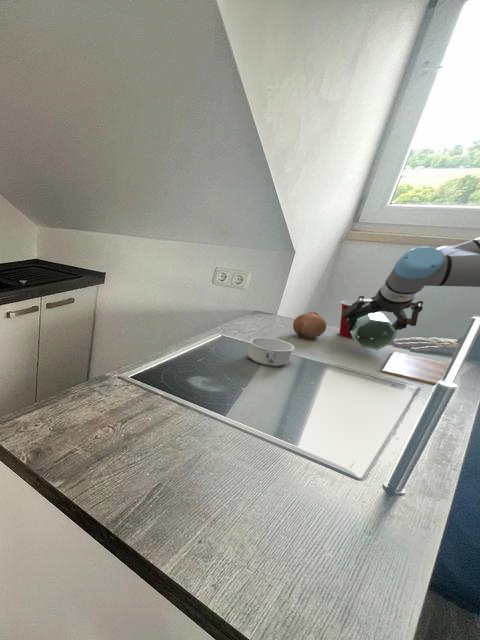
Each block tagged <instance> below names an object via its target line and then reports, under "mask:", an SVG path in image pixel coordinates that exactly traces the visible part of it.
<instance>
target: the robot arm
mask: <svg viewBox="0 0 480 640" xmlns="http://www.w3.org/2000/svg"><path fill="white" fill-rule="evenodd" d="M425 287H467V288H480V237H478V238H475V239H471V240H469V241H465V242H462V243H459V244H456V245H455V244H454V245H443V246H440V247H437V248H434V247H431V246H427V245H426V246H425V245H423V246H417V247H414V248H411V249H409V250H407V251H406V252H404V254H403V255H401V257H400V258H399V259H398V260H397V261H396V263H395V264H394V267H393V268H392V269H391V271H390V273H389V275H388V276H387V277H386V279H385V281H384V282H383V283H382V285H381V286H380V288H379V289H378V290H377V292H376V294H375V295H374V296H372V297H371V298H365V296H363V295H359V296H358V298H357V300H355V301H356V302H355V303H353V304H352V305H351V306H349V307H348V308H347V309H345V310H344V313H343V318H348V319H347V324H349V325H348V330H347V331H351V329H352V328H353V326H354V325H355V323H356V322H357V319H358V318H360V317H363V316H365V315H367V314H370V313H376V312H378V313H379V312H386V313H392V314H393V315H394V316H395V317H396V320H395V321H394V322H393V323H392V324H393V326H394V327H395V329H396V330H397V331H401V330H403V329H407V326H410V327H416V326H417V323H418V318H419V314H420V313H421V311H423V309H424V301H423V300H419V301H417V302H413V301H414V300H415V298H416V297H417V296H418V294H419V293H420V292H421V291H422V290H424V289H423V288H425ZM367 303H370V304H369V305H366V304H367ZM365 305H366V306H365ZM362 306H364V307H362ZM409 308H410V310H411V317H410V318H409V317H408V316H407V314H406V312H405V310H406V309H409Z"/></svg>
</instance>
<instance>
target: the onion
mask: <svg viewBox="0 0 480 640" xmlns="http://www.w3.org/2000/svg"><path fill="white" fill-rule="evenodd" d="M292 330H293V331H294V333H295V334H296V335H297V336H298V337H300V338H302V339H305V340H306V339H317V338H318V337H321V336H322V334H324V333H325V332H326V330H327V322H326V320H325V318H323V317H322V316H320V315H319V314H318V313H317V312H315V311H309V312H307V313H303V314H300V315H298V316H296V318H294V320H293V323H292Z"/></svg>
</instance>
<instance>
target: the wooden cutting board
mask: <svg viewBox="0 0 480 640" xmlns="http://www.w3.org/2000/svg"><path fill="white" fill-rule="evenodd" d="M449 365H450V363H449V362H445V361H441V360H436V359H431V358H427V357H421V356H418V355H412V354H406V353H402V352H397V351H393V353H392V354H391V356H390V357H389V359H388V361H387V362H386V363H385V365H384V367H382V370H381V373H385V374H388V375H394V376H397V377H402V378H405V379H410V380H415V381H418V382H423V383H427V384H431V385H435V386H437V385H436V383H437V381H439V380H440V379H442V377H443V375H444V373H445V371H446V369H447V370H448V368H449ZM447 367H448V368H447ZM446 372H447V371H446Z"/></svg>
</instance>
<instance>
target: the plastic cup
mask: <svg viewBox="0 0 480 640" xmlns="http://www.w3.org/2000/svg"><path fill="white" fill-rule="evenodd" d="M356 301H357V300H355V301H354V300H342V301H340V305H341V315H340V324H339V335H340V336H342V337H345V338H349V339H353V338H352V335H351V332H350V331H347V330H348V325H349V324H347V319H348V318H343V313H344V310H345V309H347V308H348V307H349V306H351V305H352V304H353V303H355V302H356ZM369 304H370V303H367V304H366V305H369ZM366 305H365V306H366ZM362 307H364V306H362ZM359 337H360V336H359Z"/></svg>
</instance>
